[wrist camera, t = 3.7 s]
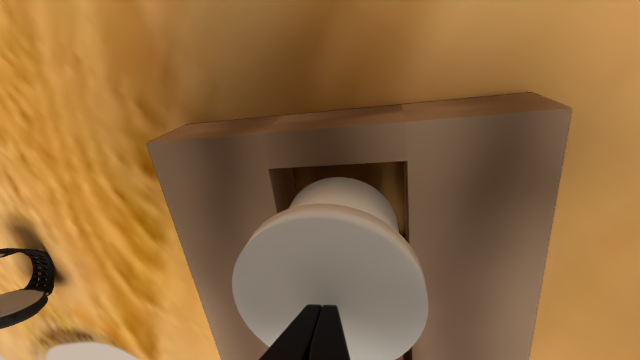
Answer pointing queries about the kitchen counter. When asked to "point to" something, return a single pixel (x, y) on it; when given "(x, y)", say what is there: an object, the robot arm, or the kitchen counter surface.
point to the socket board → (420, 207)
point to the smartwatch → (27, 290)
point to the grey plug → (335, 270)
